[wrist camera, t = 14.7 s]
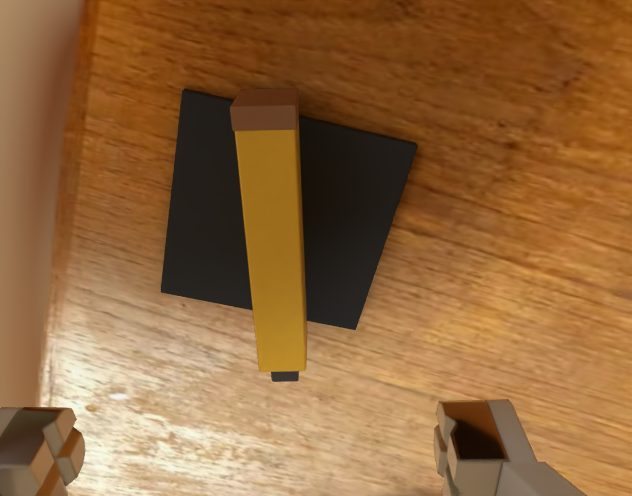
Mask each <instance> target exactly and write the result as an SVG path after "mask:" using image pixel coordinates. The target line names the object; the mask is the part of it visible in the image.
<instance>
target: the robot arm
mask: <svg viewBox="0 0 632 496" xmlns="http://www.w3.org/2000/svg"><path fill="white" fill-rule="evenodd" d="M436 415H437V419H438V423H439V424H438V425H437V426H436V427H435V428H434V455H435V461H436V466H437V471H438V473H439V474H440V475H441V476H442V477H443V478H444V480H443V488H442V493H443V496H587V495H585V494H584V493H583V492H582V491H580V490H579V489H578V488H577V487H575V486H574V485H573V484H572V483H570V482H569V481H568V480H567V479H565V478H564V477H563V476H562V475H560V474H559V473H558V472H557V471H555V470H554V469H553V468H552V467H550V466H549V465H548V464H547V463H546V462H537V459H536V457H535V455H534V452H533V450H532V448H531V446H530V443H529V441H528V439H527V437H526V434H525V432H524V430H523V428H522V425H521V423H520V421H519V418H518V416H517V414H516V412H515V409H514V407H513V405H512V403H511V402H510V401H509V400H508V399H500V400H459V401H439V402H438V405H437V411H436ZM76 420H77V419H76V417H75V414H74V412H73V410H72V409H71V408H57V407H23V408H16V407H5V408H4V407H2V408H0V496H68V492H67V489H66V486H67V485H68V484H69V483H71V482H72V481H73V480H74V479H76V478H77V477H78V474H79V472H80V470H81V468H82V466H83V461H84V456H85V441H84V438H83V435H82V433H81V432H79V431H78V430H77V429H75V428H74V427H73V425H74V423H75V421H76Z"/></svg>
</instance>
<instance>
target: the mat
mask: <svg viewBox="0 0 632 496" xmlns="http://www.w3.org/2000/svg"><path fill="white" fill-rule="evenodd" d="M233 102H234V100H232V99H227V98H223V97H219V96H215V95H210V94H206V93H202V92H198V91H194V90H189V89H184V90H183V91H182V99H181V108H180V117H179V126H178V136H177V145H176V154H175V163H174V172H173V182H172V191H171V200H170V209H169V218H168V228H167V237H166V246H165V255H164V264H163V274H162V283H161V292H162V293H167V294H172V295H177V296H182V297H188V298H193V299H198V300H203V301H208V302H213V303H219V304H224V305H229V306H234V307H239V308H244V309H250V310H253V306H252V296H251V287H250V277H249V267H248V257H247V247H246V237H245V228H244V218H243V208H242V198H241V188H240V178H239V168H238V159H237V149H236V139H235V131H233V130H232V122H231V113H230V106H231V105H232V103H233ZM299 141H300V165H301V190H302V214H303V238H304V262H305V287H306V311H307V321H312V322H317V323H322V324H327V325H332V326H337V327H343V328H348V329H353V330H356V327H357V324H358V321H359V318H360V316H361V313H362V310H363V307H364V304H365V301H366V298H367V295H368V292H369V289H370V286H371V283H372V280H373V277H374V274H375V271H376V268H377V265H378V262H379V259H380V256H381V254H382V251H383V248H384V245H385V242H386V239H387V236H388V233H389V230H390V227H391V224H392V221H393V218H394V215H395V212H396V209H397V206H398V203H399V200H400V197H401V194H402V192H403V189H404V186H405V183H406V180H407V177H408V174H409V171H410V168H411V165H412V162H413V159H414V156H415V153H416V150H417V147H418V146H417V144H416V143H414V142H409V141H405V140H401V139H397V138H392V137H388V136H384V135H380V134H375V133H371V132H367V131H363V130H359V129H354V128H350V127H346V126H342V125H337V124H333V123H329V122H325V121H320V120H316V119H312V118H308V117H304V116H299Z"/></svg>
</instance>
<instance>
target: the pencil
mask: <svg viewBox="0 0 632 496" xmlns="http://www.w3.org/2000/svg"><path fill="white" fill-rule="evenodd" d="M299 110H300V107H299V89H298V88H285V89H245V90H241V91H240V93H239V94H238V96H237V97H236V99H235V100H234V102H233V103H232V105H231V106H230V113H231V122H232V130H233V131H235V139H236V149H237V159H238V168H239V178H240V188H241V198H242V208H243V218H244V228H245V237H246V247H247V257H248V267H249V277H250V287H251V296H252V306H253V316H254V326H255V336H256V346H257V356H258V365H259V371H260V372H271V378H272V381H273V382H281V381H298V379H299V371H305V370H306V364H307V311H306V287H305V262H304V238H303V214H302V190H301V165H300V141H299Z"/></svg>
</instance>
